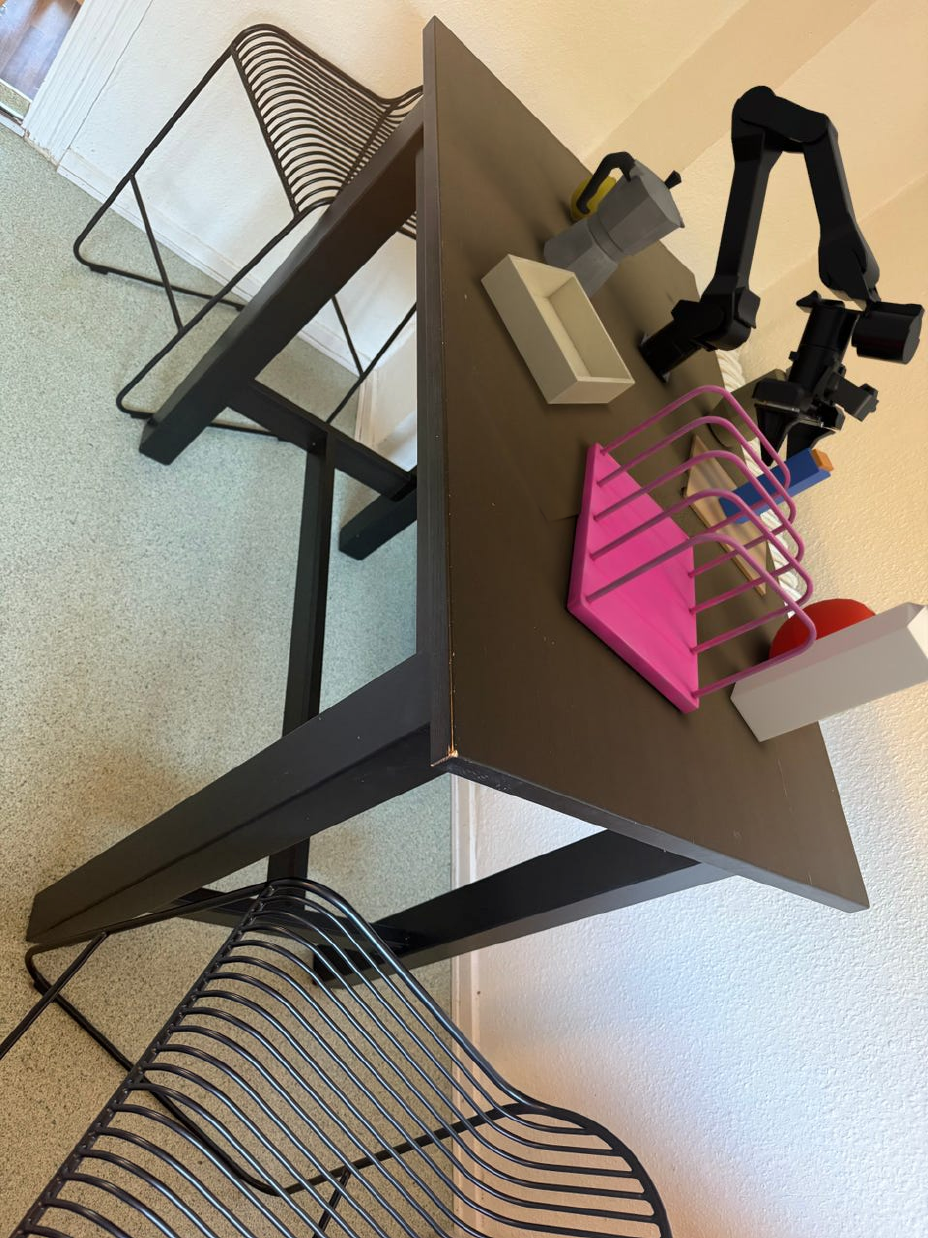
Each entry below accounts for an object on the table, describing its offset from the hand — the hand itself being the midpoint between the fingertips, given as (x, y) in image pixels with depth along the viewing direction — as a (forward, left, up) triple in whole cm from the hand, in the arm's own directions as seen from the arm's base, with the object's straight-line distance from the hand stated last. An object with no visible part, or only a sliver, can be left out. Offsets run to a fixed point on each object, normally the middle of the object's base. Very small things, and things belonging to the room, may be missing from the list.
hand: (778, 470), depth 109 cm
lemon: (-25, -41, -9) cm, 49 cm away
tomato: (+23, +13, -9) cm, 28 cm away
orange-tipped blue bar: (+1, +1, -8) cm, 8 cm away
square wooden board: (+1, +1, -9) cm, 9 cm away
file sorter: (+35, -13, -9) cm, 39 cm away
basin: (+15, -34, -9) cm, 38 cm away
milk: (+34, +8, -9) cm, 36 cm away
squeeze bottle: (-19, -3, -9) cm, 21 cm away
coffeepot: (-5, -38, -9) cm, 39 cm away
